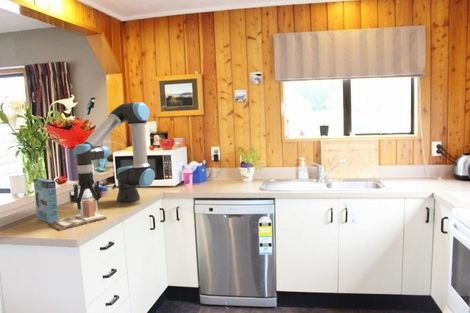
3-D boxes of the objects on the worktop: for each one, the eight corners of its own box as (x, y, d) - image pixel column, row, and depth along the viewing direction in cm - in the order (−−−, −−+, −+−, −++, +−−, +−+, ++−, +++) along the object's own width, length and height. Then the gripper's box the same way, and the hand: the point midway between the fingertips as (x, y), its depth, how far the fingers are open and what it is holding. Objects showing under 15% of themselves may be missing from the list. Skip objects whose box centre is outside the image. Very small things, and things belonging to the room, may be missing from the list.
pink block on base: (92, 213, 212) (90, 198, 211) (103, 217, 202) (102, 201, 201) (75, 217, 204) (73, 201, 203) (86, 221, 195) (84, 205, 194)
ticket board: (93, 214, 213) (93, 211, 213) (106, 219, 202) (106, 215, 202) (48, 225, 195) (47, 221, 195) (60, 230, 184) (59, 226, 184)
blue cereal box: (37, 218, 211) (32, 179, 208) (46, 216, 214) (42, 177, 212) (50, 224, 197) (45, 182, 195) (59, 221, 201) (55, 180, 199)
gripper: (99, 169, 210) (103, 208, 213) (63, 174, 196) (67, 216, 198) (106, 170, 205) (109, 209, 208) (69, 175, 190) (73, 218, 193)
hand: (88, 212), depth 203 cm, fingers open, 8 cm apart
